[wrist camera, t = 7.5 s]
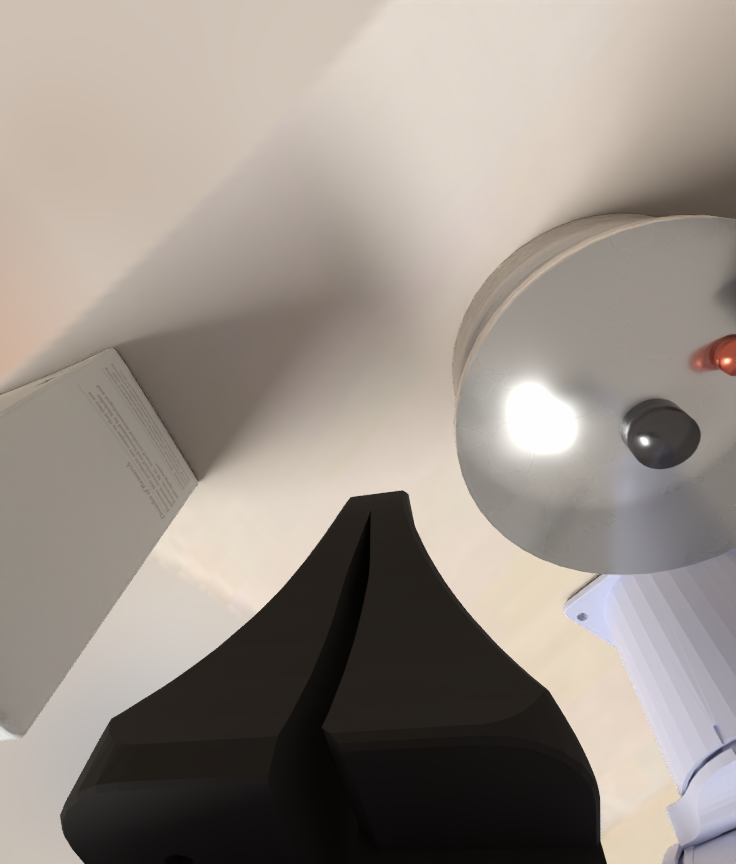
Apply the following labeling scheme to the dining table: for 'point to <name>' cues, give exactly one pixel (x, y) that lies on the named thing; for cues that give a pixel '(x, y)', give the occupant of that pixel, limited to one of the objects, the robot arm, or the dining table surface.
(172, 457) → the supplement box
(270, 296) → the dining table surface
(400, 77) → the dining table surface
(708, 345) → the lid
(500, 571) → the dining table surface
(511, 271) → the pot
